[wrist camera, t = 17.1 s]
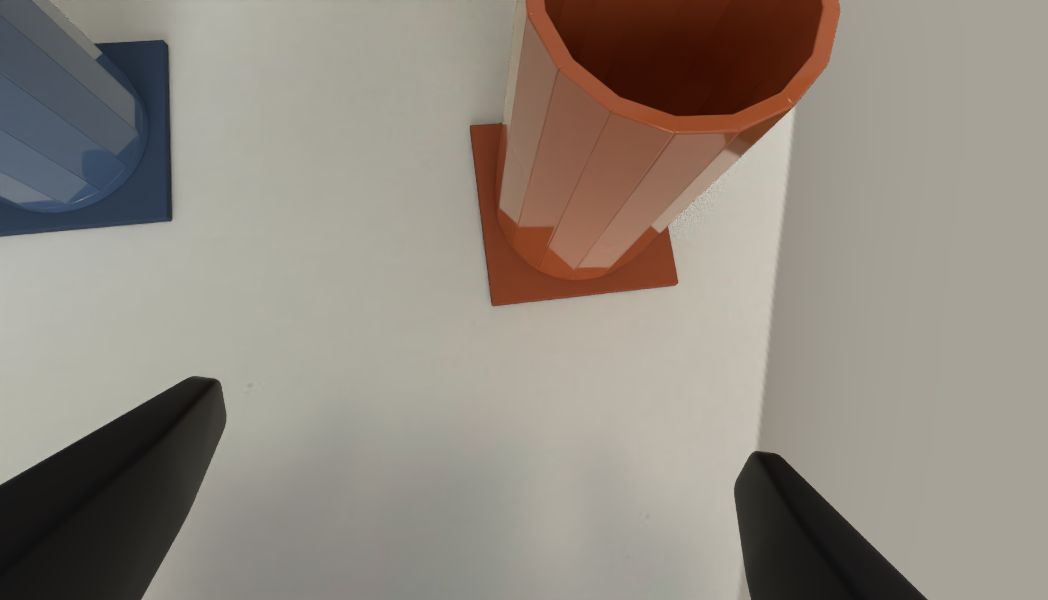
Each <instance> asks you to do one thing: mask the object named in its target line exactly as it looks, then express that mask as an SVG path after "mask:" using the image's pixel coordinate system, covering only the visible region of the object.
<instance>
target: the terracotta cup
mask: <svg viewBox="0 0 1048 600" xmlns="http://www.w3.org/2000/svg"><path fill="white" fill-rule="evenodd" d="M839 15H840V4H839V0H516V8H515V17H514V26H513V35H512V43H511V52H510V61H509V69H508V78H507V87H506V96H505V104H504V113H503V122H502V131H501V139H500V148H499V157H498V165H497V174H496V183H495V195H496V196H495V207H496V214H497V219H498V222H499V226H500V228H501V231H502V233H503V235H504V237H505V239H506V240H507V242H508V244H509V245H510V247H511V248H512V249H513V250H514V251H515V253H516V254H517V255H518V256H519V257H520V258H521V259H522V260H523V261H525V262H526V263H527V264H529V265H530V266H532V267H533V268H535V269H537V270H538V271H540V272H542V273H545V274H547V275H550V276H553V277H556V278H560V279H566V280H589V279H595V278H598V277H602V276H605V275H607V274H610V273H612V272H614V271H616V270H617V269H619V268H621V267H622V266H623V265H625V264H627V263H629V262H630V261H631V260H632V259H633V258H634V257H635V256H636V255H638V254H639V253H640V252H641V251H642V250H643V249H644V248H645V247H646V246H647V245H648V244H649V243H650V242H651V241H652V240H653V239H654V238H655V237H657V236H658V235H659V234H660V233H661V232H662V231H663V230H664V229H665V228H666V227H667V226H668V225H669V224H670V223H671V222H672V221H673V220H675V219H676V218H677V217H678V216H679V215H680V214H681V213H682V212H683V211H684V210H685V209H686V208H687V207H688V206H689V205H690V204H691V203H692V202H694V201H695V200H696V199H697V198H698V197H699V196H700V195H701V194H702V193H703V192H704V191H705V190H706V189H707V188H708V187H709V186H710V185H711V184H713V183H714V182H715V181H716V180H717V179H718V178H719V177H720V176H721V175H722V174H723V173H724V172H725V171H726V170H727V169H728V168H729V167H731V166H732V165H733V164H734V163H735V162H736V161H737V160H738V159H739V158H740V157H741V156H742V155H743V154H744V153H745V152H746V151H747V150H748V149H750V148H751V147H752V146H753V145H754V144H755V143H756V142H757V141H758V140H759V139H760V138H761V137H762V136H763V135H764V134H765V133H766V132H767V131H769V130H770V129H771V128H772V127H773V126H774V125H775V124H776V123H777V122H778V121H779V120H780V119H781V118H782V117H783V116H784V115H785V114H787V113H788V112H789V111H790V110H791V109H792V108H793V107H794V106H795V105H796V104H797V102H798V101H799V100H800V99H801V97H802V96H803V95H804V93H805V92H806V91H807V90H808V89H809V88H810V86H811V85H812V84H813V83H814V81H815V80H816V79H817V78H818V76H819V75H820V74H821V73H822V71H823V70H824V69H825V68H826V66H827V65H828V63H829V60H830V55H831V51H832V46H833V42H834V38H835V33H836V28H837V24H838V19H839Z"/></svg>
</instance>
